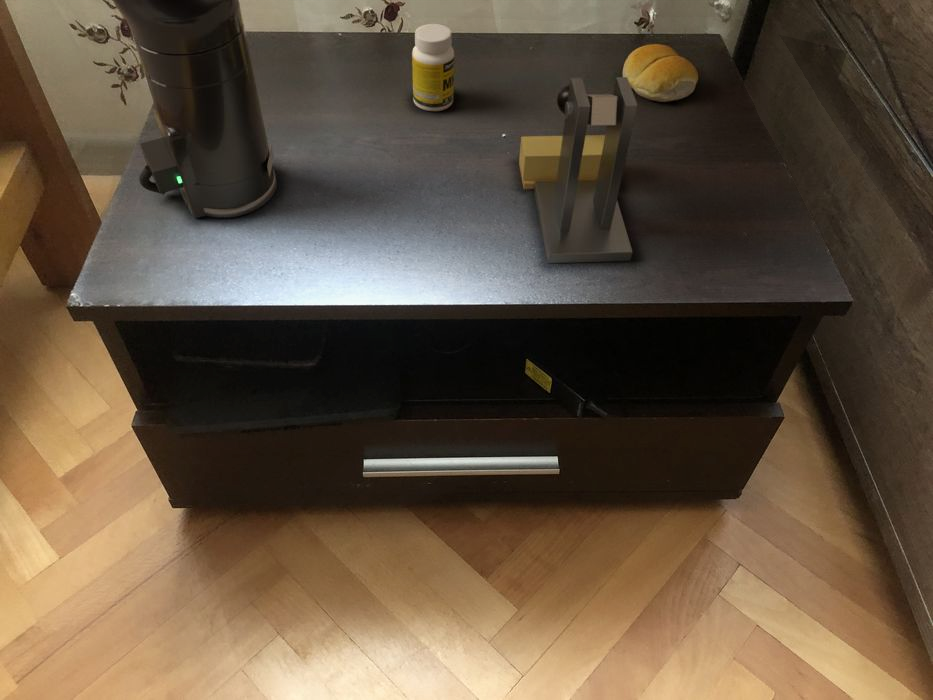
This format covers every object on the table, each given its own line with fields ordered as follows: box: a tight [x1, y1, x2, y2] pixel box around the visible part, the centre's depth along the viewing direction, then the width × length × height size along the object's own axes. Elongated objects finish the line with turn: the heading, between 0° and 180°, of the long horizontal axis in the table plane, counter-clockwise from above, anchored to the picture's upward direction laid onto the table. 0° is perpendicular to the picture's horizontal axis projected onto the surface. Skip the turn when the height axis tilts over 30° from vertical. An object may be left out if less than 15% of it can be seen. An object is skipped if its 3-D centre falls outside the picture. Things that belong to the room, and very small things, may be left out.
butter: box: [518, 134, 605, 190], centre depth 81 cm, size 4×10×4 cm, turn 94°
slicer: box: [533, 76, 638, 264], centre depth 72 cm, size 11×8×15 cm
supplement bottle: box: [411, 23, 455, 112], centre depth 88 cm, size 5×5×8 cm
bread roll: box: [622, 43, 699, 103], centre depth 93 cm, size 8×9×4 cm
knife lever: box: [556, 83, 617, 127], centre depth 73 cm, size 15×3×3 cm, turn 4°
